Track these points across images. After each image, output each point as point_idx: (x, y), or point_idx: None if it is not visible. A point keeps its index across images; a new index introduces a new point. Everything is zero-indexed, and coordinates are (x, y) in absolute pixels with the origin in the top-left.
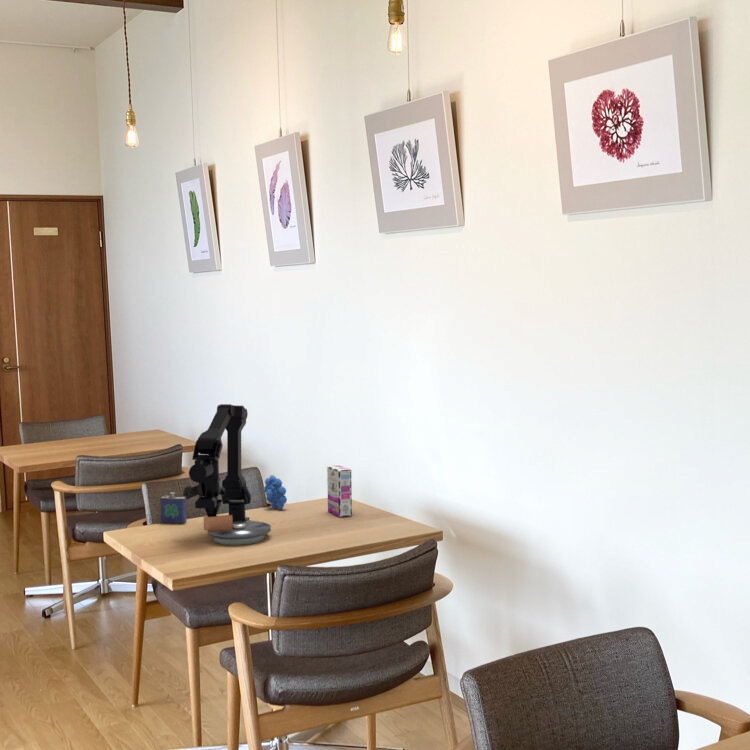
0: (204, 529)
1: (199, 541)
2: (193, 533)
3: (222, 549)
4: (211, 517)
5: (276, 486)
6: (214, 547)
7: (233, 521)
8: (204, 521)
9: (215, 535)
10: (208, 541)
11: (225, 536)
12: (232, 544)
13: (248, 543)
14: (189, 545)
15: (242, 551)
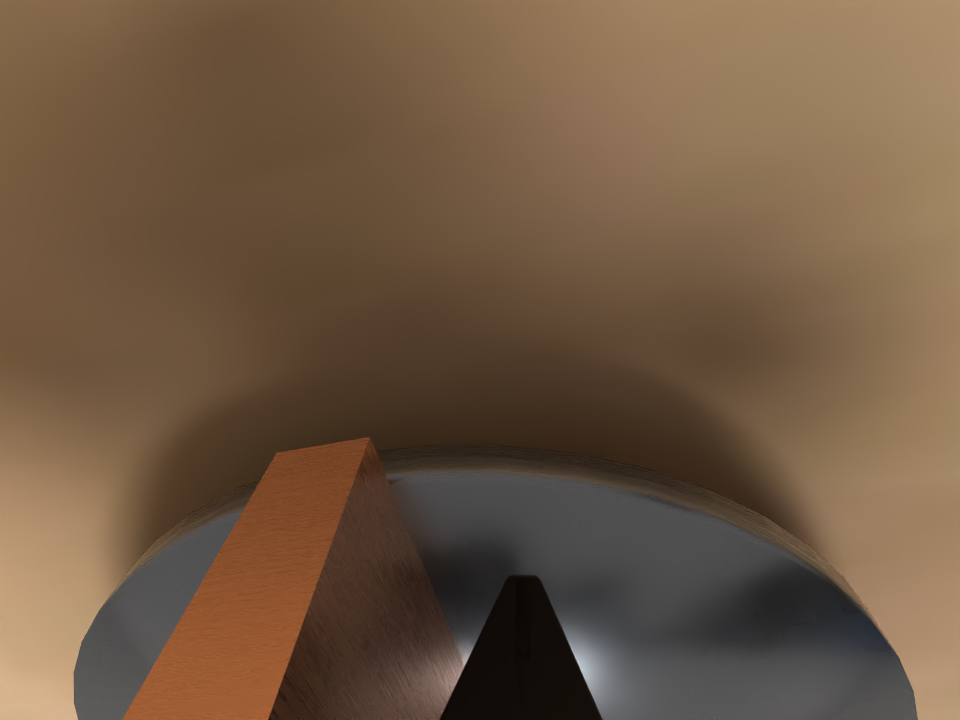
0: (272, 474)
1: (291, 294)
2: (893, 19)
3: (32, 592)
4: None
5: None
6: (69, 519)
7: (902, 716)
8: (194, 625)
9: (96, 617)
10: (314, 411)
11: (84, 710)
12: None
13: None
14: (18, 199)
15: (48, 713)
